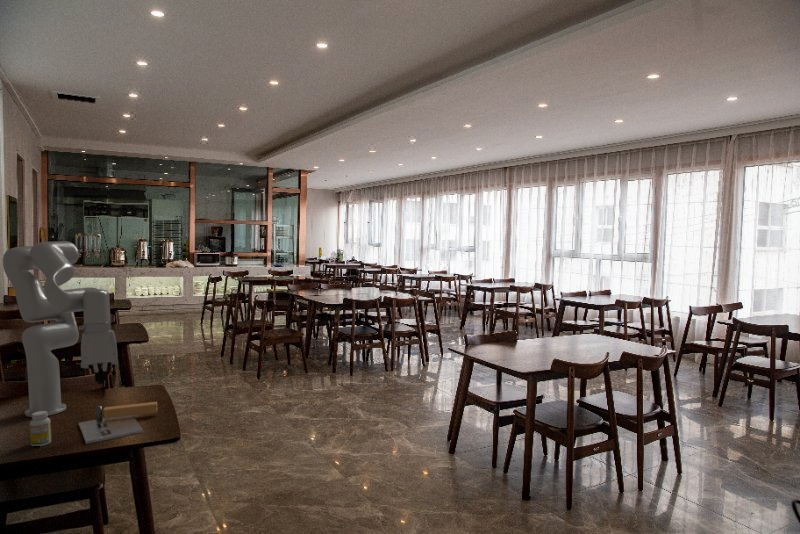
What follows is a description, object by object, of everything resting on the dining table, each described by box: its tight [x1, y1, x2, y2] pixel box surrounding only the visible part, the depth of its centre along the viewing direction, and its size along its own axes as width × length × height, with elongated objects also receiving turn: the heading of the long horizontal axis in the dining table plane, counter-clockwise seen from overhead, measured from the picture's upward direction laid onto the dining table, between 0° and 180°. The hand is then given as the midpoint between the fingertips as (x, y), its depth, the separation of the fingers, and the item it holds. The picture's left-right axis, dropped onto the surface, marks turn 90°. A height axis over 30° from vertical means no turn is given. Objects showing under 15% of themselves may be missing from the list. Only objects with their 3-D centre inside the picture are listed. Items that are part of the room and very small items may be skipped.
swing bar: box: [102, 401, 158, 419], centre depth 188 cm, size 16×3×3 cm, turn 110°
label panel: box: [78, 405, 144, 445], centre depth 178 cm, size 20×16×6 cm
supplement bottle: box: [29, 411, 52, 447], centre depth 166 cm, size 5×5×10 cm
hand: (100, 383), depth 177 cm, fingers closed
